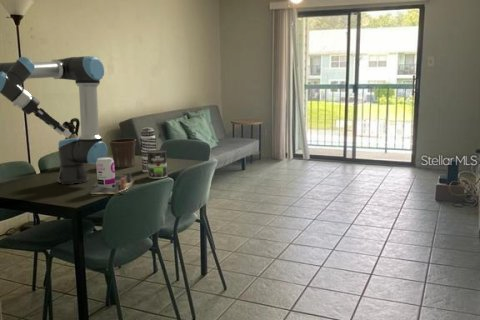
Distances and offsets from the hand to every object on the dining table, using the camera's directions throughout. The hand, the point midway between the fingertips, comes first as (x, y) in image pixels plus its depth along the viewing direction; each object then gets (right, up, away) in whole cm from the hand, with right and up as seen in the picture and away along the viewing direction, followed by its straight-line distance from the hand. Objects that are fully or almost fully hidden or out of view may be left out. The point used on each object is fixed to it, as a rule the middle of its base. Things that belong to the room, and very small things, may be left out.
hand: (66, 134), depth 214 cm
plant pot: (+7, -16, +78) cm, 80 cm away
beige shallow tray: (+15, -25, +23) cm, 38 cm away
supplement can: (+14, -26, +16) cm, 34 cm away
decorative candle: (+26, -18, +63) cm, 70 cm away
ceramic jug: (-24, -16, +80) cm, 85 cm away
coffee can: (+33, -21, +47) cm, 61 cm away
